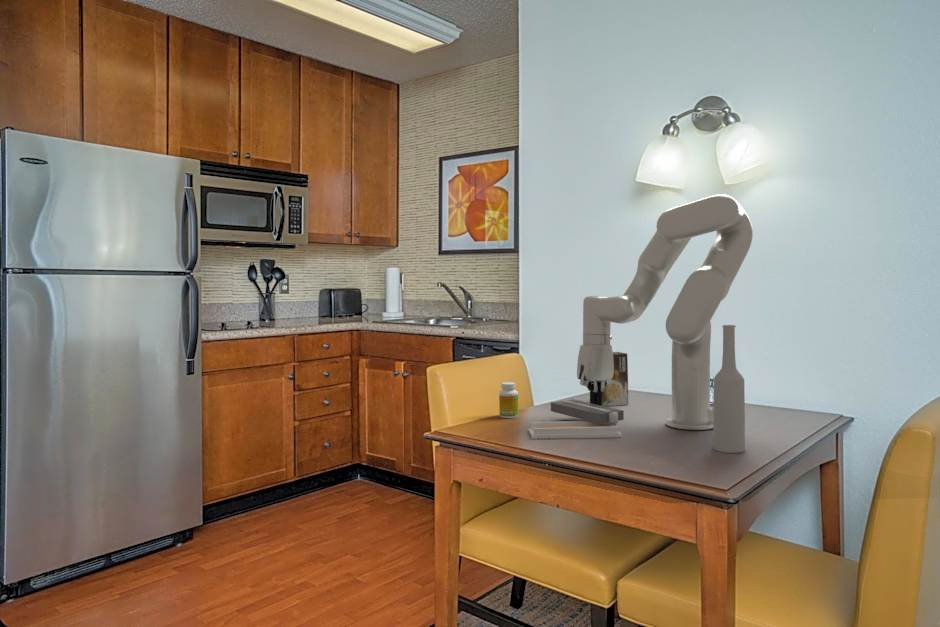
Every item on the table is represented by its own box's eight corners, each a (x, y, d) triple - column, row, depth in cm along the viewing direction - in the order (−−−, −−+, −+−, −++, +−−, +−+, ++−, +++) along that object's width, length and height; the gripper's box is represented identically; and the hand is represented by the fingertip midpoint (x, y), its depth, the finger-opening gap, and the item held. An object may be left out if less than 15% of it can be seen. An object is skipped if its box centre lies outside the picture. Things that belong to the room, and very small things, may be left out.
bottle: (732, 444, 151) (732, 324, 149) (751, 451, 144) (751, 325, 143) (707, 447, 149) (707, 325, 148) (725, 454, 143) (725, 326, 141)
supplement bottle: (517, 418, 184) (516, 384, 184) (498, 418, 185) (497, 384, 185) (519, 415, 189) (519, 381, 189) (501, 414, 190) (500, 381, 190)
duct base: (613, 429, 169) (613, 419, 169) (621, 437, 160) (621, 427, 160) (528, 430, 169) (528, 421, 169) (531, 439, 160) (531, 429, 160)
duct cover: (628, 421, 165) (628, 410, 165) (604, 424, 161) (604, 414, 161) (573, 407, 184) (573, 398, 184) (550, 411, 180) (550, 401, 180)
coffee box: (619, 401, 208) (619, 351, 207) (629, 405, 201) (628, 353, 201) (592, 403, 205) (592, 352, 205) (601, 407, 199) (601, 354, 199)
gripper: (607, 337, 189) (606, 400, 190) (566, 340, 181) (566, 405, 182) (625, 340, 182) (625, 404, 183) (584, 342, 175) (583, 410, 176)
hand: (595, 405), depth 183 cm, fingers closed
